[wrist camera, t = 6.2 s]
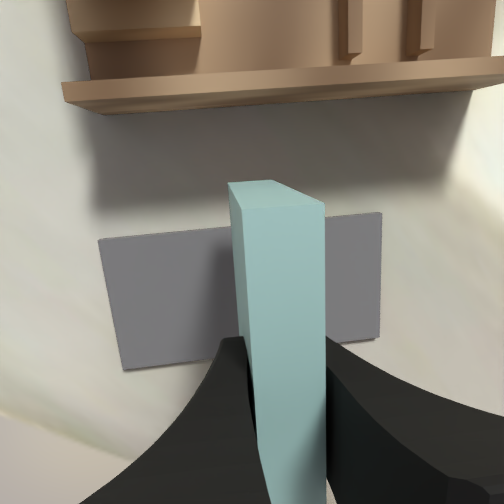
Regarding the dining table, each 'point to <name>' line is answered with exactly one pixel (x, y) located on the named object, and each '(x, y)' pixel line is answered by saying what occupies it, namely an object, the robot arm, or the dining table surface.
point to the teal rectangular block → (283, 332)
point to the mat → (226, 289)
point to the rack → (276, 51)
